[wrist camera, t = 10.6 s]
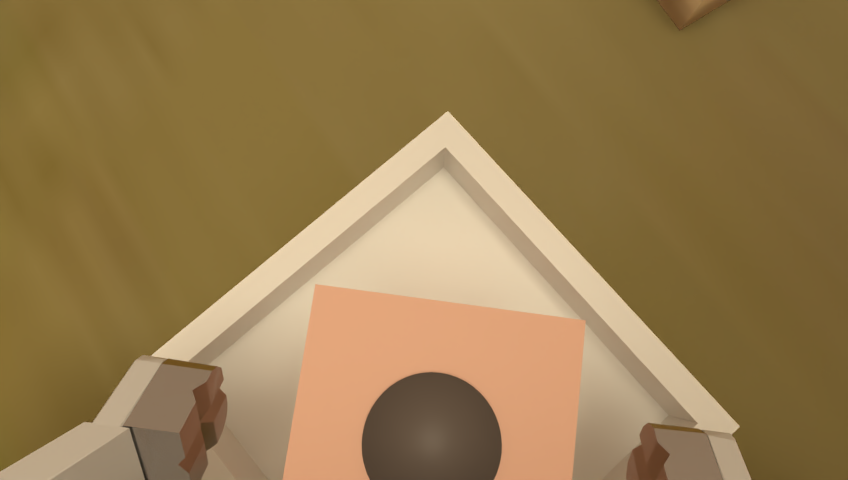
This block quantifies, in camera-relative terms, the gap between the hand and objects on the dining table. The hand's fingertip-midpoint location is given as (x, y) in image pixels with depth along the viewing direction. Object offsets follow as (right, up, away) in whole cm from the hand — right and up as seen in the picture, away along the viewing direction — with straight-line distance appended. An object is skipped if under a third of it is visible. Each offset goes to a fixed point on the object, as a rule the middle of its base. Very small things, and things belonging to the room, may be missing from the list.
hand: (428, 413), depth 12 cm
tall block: (0, -2, +7) cm, 7 cm away
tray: (0, -2, +7) cm, 8 cm away
